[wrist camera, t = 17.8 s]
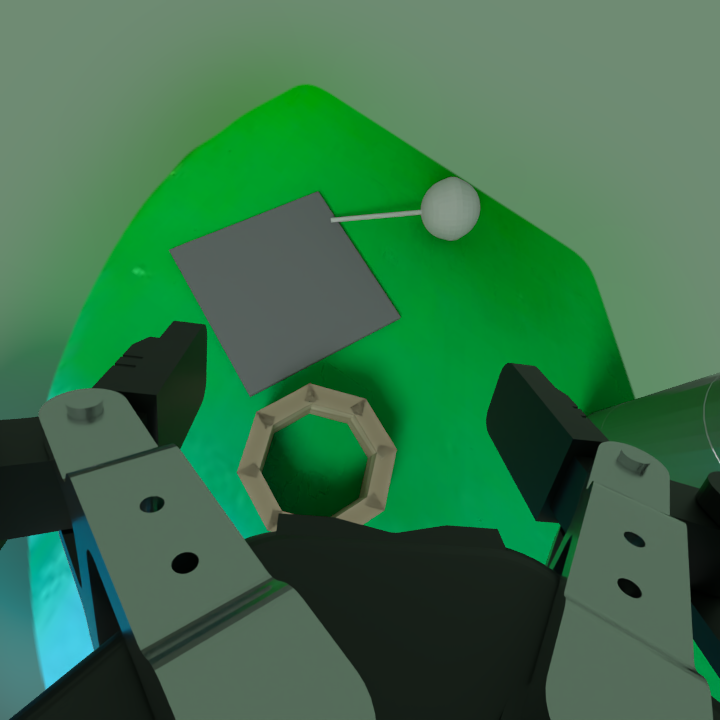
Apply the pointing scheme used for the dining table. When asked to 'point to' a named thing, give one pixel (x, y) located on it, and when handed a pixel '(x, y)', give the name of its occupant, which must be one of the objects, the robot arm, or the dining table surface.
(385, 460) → the octagonal ring
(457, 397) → the dining table surface
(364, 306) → the mat
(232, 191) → the dining table surface
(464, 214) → the lollipop
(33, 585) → the dining table surface
